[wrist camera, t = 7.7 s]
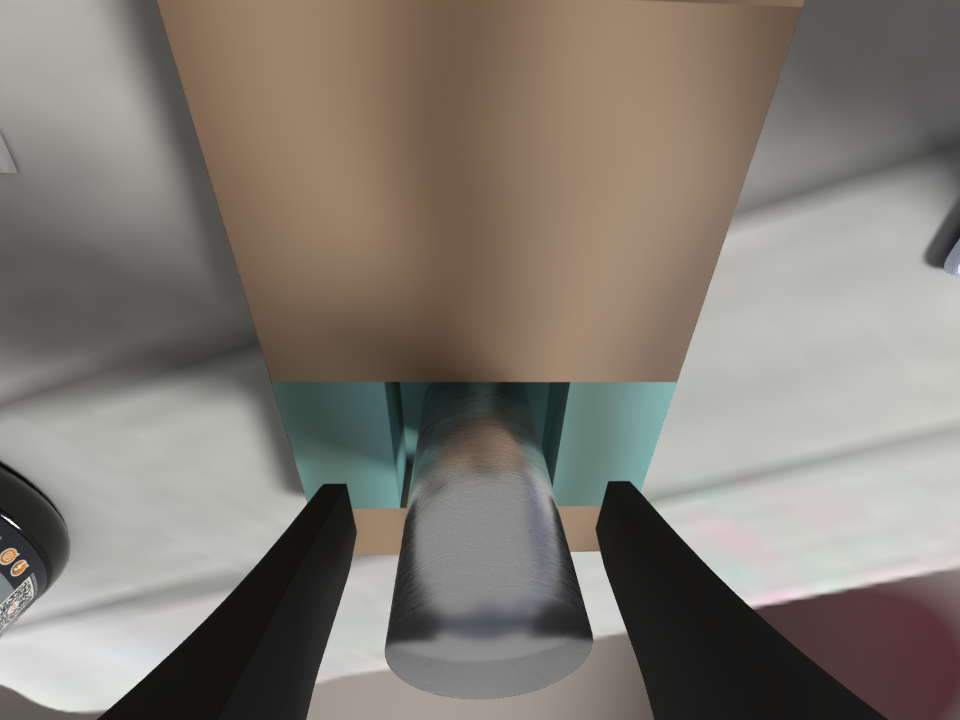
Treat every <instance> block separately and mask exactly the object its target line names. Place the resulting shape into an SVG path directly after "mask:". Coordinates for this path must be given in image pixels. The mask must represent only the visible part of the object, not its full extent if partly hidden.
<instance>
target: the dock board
mask: <svg viewBox="0 0 960 720" xmlns="http://www.w3.org/2000/svg"><path fill="white" fill-rule="evenodd" d="M804 1H805V0H157V4H158V7H159V10H160V14H161V17H162V20H163V24H164V27H165V30H166V34H167V37H168V40H169V44H170V47H171V50H172V54H173V57H174V60H175V64H176V67H177V70H178V74H179V77H180V80H181V84H182V87H183V90H184V94H185V97H186V100H187V104H188V107H189V110H190V114H191V117H192V120H193V124H194V127H195V130H196V134H197V137H198V140H199V143H200V147H201V150H202V153H203V157H204V160H205V163H206V167H207V170H208V173H209V177H210V180H211V183H212V187H213V190H214V193H215V197H216V200H217V203H218V207H219V210H220V213H221V217H222V220H223V223H224V227H225V230H226V233H227V237H228V240H229V243H230V247H231V250H232V253H233V257H234V260H235V263H236V267H237V270H238V273H239V277H240V280H241V283H242V287H243V290H244V293H245V297H246V300H247V303H248V307H249V310H250V313H251V317H252V320H253V323H254V327H255V330H256V333H257V337H258V340H259V343H260V347H261V350H262V353H263V357H264V360H265V363H266V367H267V370H268V373H269V377H270V380H271V383H272V387H273V390H274V393H275V397H276V400H277V403H278V407H279V410H280V413H281V417H282V420H283V423H284V427H285V430H286V433H287V437H288V440H289V443H290V447H291V450H292V453H293V456H294V460H295V463H296V466H297V470H298V473H299V476H300V480H301V483H302V486H303V490H304V493H305V496H306V500H307V503H308V502H309V501H310V500H311V498H312V497H313V496H314V494H315V493H316V492H317V491H318V489H319V488H320V487H321V486H322V485H323V484H345V483H347V488H348V492H349V497H350V501H351V506H352V511H353V515H354V520H355V525H356V529H357V535H356V541H355V546H354V551H353V555H399V554H400V548H401V541H402V535H403V528H404V522H405V515H406V509H407V502H408V496H409V489H410V483H411V477H412V470H413V464H414V457H415V451H416V444H417V438H418V431H419V425H420V418H421V412H422V406H423V400H424V396H425V393H426V391H427V389H428V387H429V385H430V384H431V383H432V382H521V383H522V385H523V386H524V388H525V390H526V393H527V397H528V400H529V404H530V408H531V411H532V415H533V419H534V422H535V426H536V429H537V433H538V437H539V440H540V444H541V448H542V451H543V455H544V459H545V462H546V466H547V470H548V473H549V477H550V481H551V484H552V488H553V492H554V495H555V499H556V503H557V506H558V510H559V514H560V517H561V521H562V525H563V528H564V532H565V536H566V539H567V543H568V547H569V550H570V552H586V551H600V547H599V543H598V538H597V534H596V529H595V528H596V525H597V521H598V517H599V514H600V510H601V506H602V502H603V499H604V495H605V491H606V488H607V484H608V481H630V482H631V483H632V484H633V485H634V486H635V487H636V488H637V489H638V491H639V492H640V491H641V488H642V485H643V482H644V479H645V476H646V473H647V470H648V467H649V464H650V461H651V458H652V455H653V452H654V449H655V446H656V443H657V440H658V437H659V434H660V431H661V428H662V425H663V422H664V419H665V416H666V413H667V410H668V407H669V404H670V401H671V398H672V395H673V392H674V389H675V386H676V383H677V380H678V377H679V374H680V371H681V368H682V365H683V362H684V359H685V356H686V353H687V350H688V347H689V344H690V342H691V339H692V336H693V333H694V330H695V327H696V324H697V321H698V318H699V315H700V312H701V309H702V306H703V303H704V300H705V297H706V294H707V291H708V288H709V285H710V282H711V279H712V276H713V273H714V270H715V267H716V264H717V261H718V258H719V255H720V252H721V249H722V246H723V243H724V240H725V237H726V234H727V231H728V228H729V225H730V222H731V219H732V216H733V213H734V210H735V207H736V204H737V201H738V198H739V195H740V192H741V189H742V186H743V183H744V180H745V177H746V174H747V171H748V168H749V165H750V162H751V159H752V156H753V153H754V150H755V147H756V144H757V141H758V138H759V135H760V132H761V129H762V126H763V123H764V120H765V117H766V114H767V111H768V109H769V106H770V103H771V100H772V97H773V94H774V91H775V88H776V85H777V82H778V79H779V76H780V73H781V70H782V67H783V64H784V61H785V58H786V55H787V52H788V49H789V46H790V43H791V40H792V37H793V34H794V31H795V28H796V25H797V22H798V19H799V16H800V13H801V10H802V7H803V4H804Z"/></svg>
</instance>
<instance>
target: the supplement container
mask: <svg viewBox="0 0 960 720" xmlns="http://www.w3.org/2000/svg"><path fill="white" fill-rule="evenodd" d="M69 556H70V539H69V536H68V532H67V530H66V527H65V525H64V523H63V521H62V519H61V518H60V516H59V514H58V513H57V512H56V510H55V509H54V508H53V507H52V505H51V504H50V503H49V502H48V501H47V500H46V499H45V498H44V497H43V496H42V495H41V494H40V493H39V492H38V491H36V490H35V489H34V488H33V487H31V486H30V485H29V484H28V483H26V482H25V481H23V480H22V479H20V478H19V477H17V476H16V475H14V474H13V473H11V472H9V471H8V470H6V469H4V468H3V467H1V466H0V638H1V637H2V636H3V634H4V633H5V632H6V631H7V630H8V629H9V628H10V627H11V626H12V625H13V624H14V623H15V622H16V621H17V620H18V619H19V618H20V616H21V615H22V614H23V613H24V612H25V611H26V610H27V609H28V608H29V607H30V606H31V605H32V604H33V603H34V602H35V601H36V600H37V599H38V598H40V597H41V596H42V595H43V594H45V593H46V592H47V591H48V590H49V589H50V587H51V586H52V585H53V584H54V583H55V582H56V581H57V580H58V578H59V577H60V575H61V574H62V572H63V571H64V569H65V567H66V565H67V562H68V559H69Z"/></svg>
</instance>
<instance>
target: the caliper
mask: <svg viewBox="0 0 960 720" xmlns="http://www.w3.org/2000/svg"><path fill="white" fill-rule="evenodd" d="M0 172H2V173H18V171H17V169H16V167H15V165H14V162H13V160H12V158H11V156H10V153H9V151H8V149H7V146H6V144H5V142H4V140H3V137H2V135H1V133H0Z"/></svg>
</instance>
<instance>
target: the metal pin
mask: <svg viewBox="0 0 960 720" xmlns="http://www.w3.org/2000/svg"><path fill="white" fill-rule="evenodd" d="M592 644H593V634H592V631H591V627H590V623H589V620H588V616H587V612H586V609H585V605H584V601H583V598H582V594H581V590H580V587H579V583H578V579H577V576H576V572H575V568H574V565H573V561H572V557H571V554H570V550H569V547H568V543H567V539H566V536H565V532H564V528H563V525H562V521H561V517H560V514H559V510H558V506H557V503H556V499H555V495H554V492H553V488H552V484H551V481H550V477H549V473H548V470H547V466H546V462H545V459H544V455H543V451H542V448H541V444H540V440H539V437H538V433H537V429H536V426H535V422H534V419H533V415H532V411H531V408H530V404H529V400H528V397H527V393H526V390H525V388H524V386H523V385H522V383H521V382H432V383H431V384H430V385H429V387H428V389H427V391H426V393H425V396H424V400H423V406H422V412H421V418H420V425H419V431H418V438H417V444H416V451H415V457H414V464H413V470H412V477H411V483H410V489H409V496H408V502H407V509H406V515H405V522H404V528H403V535H402V541H401V548H400V554H399V561H398V567H397V573H396V580H395V586H394V593H393V599H392V606H391V612H390V619H389V625H388V632H387V638H386V644H385V658H386V661H387V664H388V665H389V667H390V668H391V670H392V671H393V672H394V673H395V674H396V675H397V676H398V677H399V678H401V679H402V680H403V681H405V682H406V683H408V684H409V685H411V686H413V687H416V688H418V689H420V690H423V691H426V692H429V693H433V694H436V695H440V696H446V697H451V698H460V699H495V698H504V697H511V696H516V695H521V694H525V693H529V692H533V691H536V690H539V689H542V688H545V687H547V686H549V685H552V684H554V683H556V682H558V681H560V680H562V679H564V678H565V677H567V676H568V675H570V674H571V673H573V672H574V671H575V670H576V669H578V668H579V667H580V666H581V664H582V663H584V661H585V660H586V658H587V657H588V655H589V653H590V651H591V649H592Z"/></svg>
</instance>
